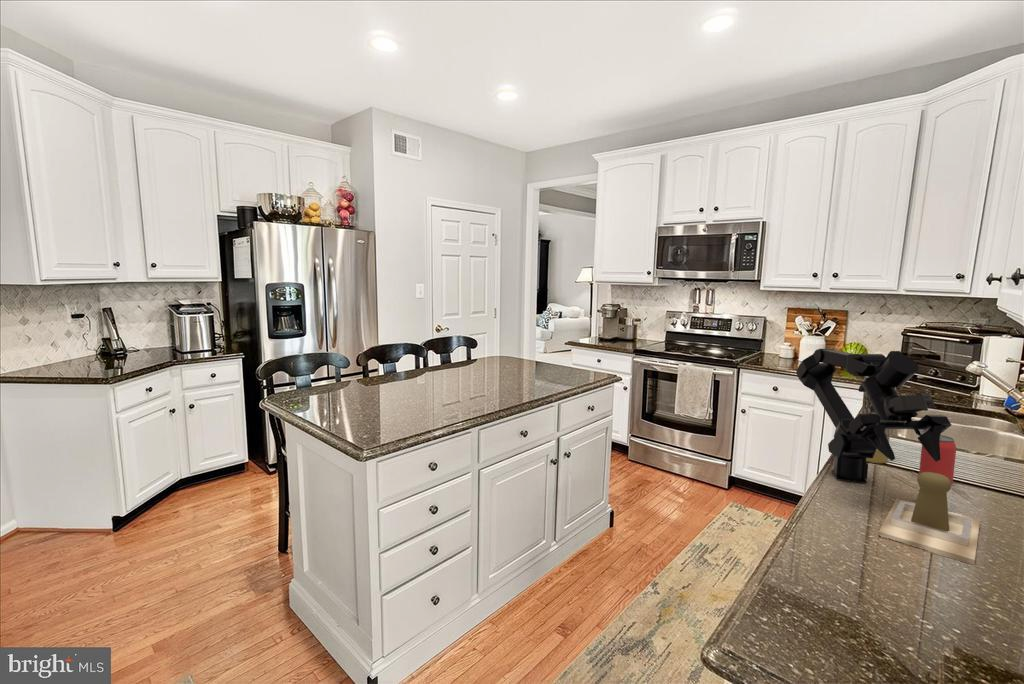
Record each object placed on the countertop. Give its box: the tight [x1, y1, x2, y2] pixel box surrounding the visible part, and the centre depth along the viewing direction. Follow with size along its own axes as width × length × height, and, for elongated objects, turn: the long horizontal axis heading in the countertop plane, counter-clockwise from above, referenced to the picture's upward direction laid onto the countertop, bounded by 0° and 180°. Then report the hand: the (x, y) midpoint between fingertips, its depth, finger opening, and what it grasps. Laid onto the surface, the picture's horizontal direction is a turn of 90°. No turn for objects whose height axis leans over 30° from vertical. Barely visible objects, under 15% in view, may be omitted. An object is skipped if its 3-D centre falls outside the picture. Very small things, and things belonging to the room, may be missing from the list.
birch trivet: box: [877, 498, 981, 566], centre depth 99 cm, size 14×22×1 cm, turn 134°
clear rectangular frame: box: [891, 501, 972, 546], centre depth 99 cm, size 12×12×2 cm
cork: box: [911, 472, 952, 532], centre depth 98 cm, size 6×6×11 cm
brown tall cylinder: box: [861, 377, 891, 464], centre depth 137 cm, size 7×7×25 cm
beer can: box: [918, 434, 957, 486], centre depth 122 cm, size 7×7×12 cm
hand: (915, 460), depth 103 cm, fingers open, 9 cm apart
